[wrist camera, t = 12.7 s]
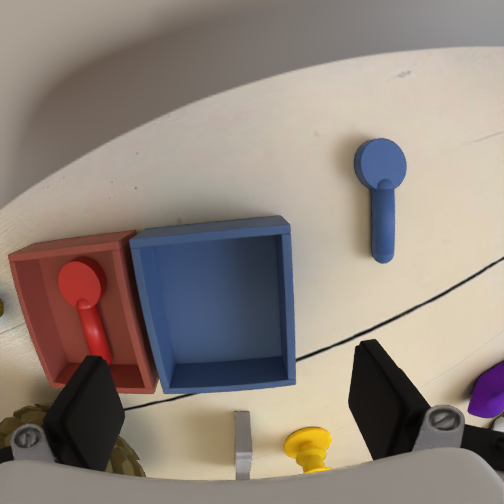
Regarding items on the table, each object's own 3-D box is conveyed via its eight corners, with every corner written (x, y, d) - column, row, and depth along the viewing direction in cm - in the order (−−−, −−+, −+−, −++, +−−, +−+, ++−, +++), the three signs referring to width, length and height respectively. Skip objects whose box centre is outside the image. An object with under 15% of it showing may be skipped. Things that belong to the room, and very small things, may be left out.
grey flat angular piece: (249, 410, 28) (247, 468, 30) (234, 410, 28) (235, 469, 30) (252, 453, 22) (250, 506, 24) (235, 453, 22) (236, 507, 24)
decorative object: (162, 394, 27) (116, 589, 7) (161, 483, 30) (141, 613, 11) (17, 350, 25) (-88, 470, 6) (45, 448, 29) (-7, 553, 9)
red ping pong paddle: (127, 360, 25) (122, 372, 23) (89, 360, 25) (82, 370, 23) (101, 254, 23) (92, 260, 21) (61, 258, 22) (50, 264, 21)
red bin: (33, 243, 23) (7, 254, 19) (135, 229, 23) (117, 240, 19) (68, 364, 26) (51, 387, 22) (163, 366, 26) (154, 394, 22)
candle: (280, 457, 30) (300, 574, 15) (287, 428, 28) (314, 558, 13) (324, 454, 30) (358, 564, 15) (335, 425, 29) (380, 545, 14)
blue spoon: (398, 257, 25) (409, 263, 23) (356, 262, 24) (364, 269, 23) (396, 140, 22) (407, 139, 20) (351, 139, 22) (360, 137, 20)
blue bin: (145, 228, 23) (128, 239, 19) (281, 215, 23) (290, 224, 19) (171, 366, 26) (163, 394, 22) (288, 357, 26) (295, 385, 22)
